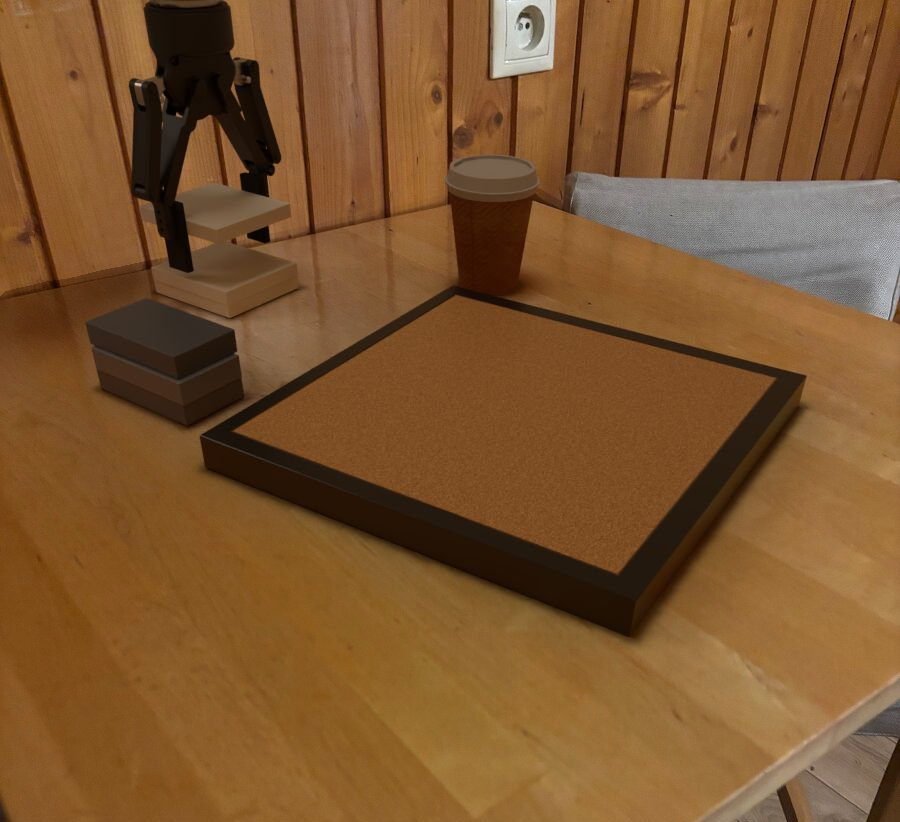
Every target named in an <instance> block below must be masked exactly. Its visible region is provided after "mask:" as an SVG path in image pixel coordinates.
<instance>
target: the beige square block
mask: <svg viewBox="0 0 900 822" xmlns="http://www.w3.org/2000/svg"><path fill="white" fill-rule="evenodd" d="M191 256H192V262H193V268H194V271H193V272H190V273H186V272H183V271H180V270H177V269H174V268H171V267H170V266H169V261H168V260H166V261H164V262H163V261H162V262H161V263H158V264H155V265H153V266H151V267H150V270H151V274H152V279H153V282H154V287H155V292H156V293H157V294H161V295H163V296H166V297H168V298H172V299H175V300H178V301H180V302H183V303H186V304H189V305H190V306H191V305H192V306H194V307H197V308H199V309H202V310H204V311H208V312H211V313H214V314H217V315H220V316H223V317H224V318H225V317H226V318H228V319H231V318H233V317H236V316H239V315H241V314H242V313H245V312H247V311H250V310H252V309H255V308H256V307H259V306H261V305H263V304H266V303H269V302H270V301H273V300H274V299H277V298H279V297H281V296H283V295H286V294H288V293H291V292H293V291H295V290H297V289H299V288H300V286H299V277H298V276H299V275H298V266H297V262H295V261H292V260H288V259H285V258H283V257H282V258H281V257H279V256H275V255H273V254H269V253H265V252H262V251H259V250H256V249H252V248H249V247H245V246H242V245H240V244H236V243H233V242H229V241H226V242H223V243H220V244H216V243H211V244H209V245H207V246H203V247H201V248H199V249H196V250H192V251H191Z"/></svg>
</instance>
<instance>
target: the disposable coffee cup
mask: <svg viewBox="0 0 900 822" xmlns="http://www.w3.org/2000/svg"><path fill="white" fill-rule="evenodd" d="M536 167H537V166H536V165H535V163H534V162H532V161H530V160H528V159H525V158H522V157H518V156H513V155H505V154H489V153H488V154H487V153H486V154H473V155H467V156H464V157H463V156H462V157H459V158H456V159H454V160H453V161H451V162H450V164H449V168H448V171H447V174H446V175H445V177H444V183H445V185H446V187H447V191H448V192H449V199H450V208H451V210H450V211H451V218H452V226H453V228H452V230H453V238H454V244H455V245H454V248H455V256H456V265H457V274H458V275H457V276H458V285H459V286H458V287H462V288H465V289H469V290H473V291H477V292H481V293H485V294H489V295H493V296H500V295H501V296H502V295H506V294H509V293H512V292H514V291H515V290H516V289H517V288H518V286H519V279H520V273H521V268H522V261H523V257H524V251H525V246H526V242H527V241H526V240H527V234H528V229H529V224H530V218H531V213H532V209H533V208H532V207H533V202H534V196H535V194H536V192H537V191H538V190H537V189H538V187H539V185H540V181H541V179H540V178H539V177H538V175H537V168H536Z"/></svg>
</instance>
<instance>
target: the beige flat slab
mask: <svg viewBox="0 0 900 822" xmlns="http://www.w3.org/2000/svg"><path fill="white" fill-rule="evenodd" d="M175 201H178V202H181V203H183V206H184V212H185V218H186V225H187V232H188V236H190V237H191V236H192V237H193V238H197V239H200V240H204V241H207V242H209V243H210V242H211V243H212V244H215V243H216V244H220V243H223V242H229V241H232V240H234V239H236V238H239V237H241V236H244V235H247V233H250V232H253V231H255V230H258V229H261V228H263V227H266V226H269V227H270V226H271V225H275V224H276V223H280V222H282V221H285V220H288V219H290V218H291V217H292V213H291V212H292V211H291V203H290V202H286V201H283V200H279V199H277V198H272V197H270V196H269V197H265V196H261V195H258V194H254V193H250V192H247V191H243V190H241V189H239V188H236V187H231V186H229V185H228V186H227V185H224V184H221V183H216V182H211V183H207V184H204V185H202V186H198V187H195V188H192V189H189V190H186V191H182V192H180V193H177V194H176V198H175ZM138 209H139V214H140V218H141V221H143V222H147V223H149V224H152V225H156V226H157V224H156V218H155V213H154V207H153V204H152V203H151V202H147V203H144V204H141V205H139V206H138Z"/></svg>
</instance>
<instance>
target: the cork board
mask: <svg viewBox="0 0 900 822" xmlns="http://www.w3.org/2000/svg"><path fill="white" fill-rule="evenodd" d="M807 377H808V375H806V374H803V373H798V372H795V371H791V370H788V369H783V368H779V367H776V366H771V365H768V364H763V363H760V362H755V361H752V360H748V359H743V358H740V357H736V356H731V355H728V354H725V353H720V352H716V351H713V350H708V349H705V348H702V347H701V348H700V347H697V346H692V345H689V344H685V343H680V342H677V341H673V340H670V339H665V338H661V337H657V336H654V335H650V334H645V333H642V332H638V331H634V330H630V329H626V328H622V327H618V326H615V325H611V324H606V323H602V322H599V321H595V320H591V319H586V318H582V317H579V316H574V315H571V314H567V313H564V312H559V311H556V310H551V309H547V308H543V307H540V306H535V305H532V304H528V303H524V302H521V301H517V300H512V299H508V298H504V297H500V296H498V295H489V294H485V293H481V292H477V291H473V290H469V289H465V288H462V287H460V286H457V285H450V286H449V287H447V288H446V289H444V290H442V291H441V292H439V293H437V294H435V295H434V296H432V297H430V298H429V299H427V300H425V301H423V302H422V303H420V304H419V305H417V306H415V307H413V308H412V309H410V310H408V311H406V312H405V313H403V314H402V315H400V316H399V317H397V318H395V319H393V320H392V321H390V322H388V323H386V324H385V325H383V326H381V327H379V328H378V329H376V330H375V331H373V332H372V333H369V334H368V335H366V336H365V337H363V338H361V339H359V340H358V341H356V342H355V343H353V344H351V345H349V346H348V347H345V349H343V350H341V351H340V352H338V353H336V354H334V355H333V356H331V357H330V358H327V359H326V360H324V361H322V362H320V363H319V364H317V365H315V366H314V367H312V368H311V369H309V370H307V371H306V372H304V373H302V374H301V375H298V377H296V378H293V379H292V380H291V381H289V382H287V383H285V384H284V385H282V386H280V387H279V388H276V390H273V391H272V392H270V393H269V394H267V395H265V396H263V397H262V398H260V399H258V400H256V402H254V403H251V404H250V405H249V406H247V407H245V408H243V409H241V410H240V411H238V412H236V413H235V414H233V415H232V416H230V417H228V418H227V419H225V420H223V421H222V422H220V423H218V424H216V425H215V426H213V427H211V428H210V429H208V430H206V431H204V432H202V433H201V434H200V435H199V440H200V448H201V452H202V459H203V464H204V468H206V469H207V470H211V471H214V472H216V473H219V474H221V475H224V476H226V477H228V478H231V479H233V480H235V481H238V482H240V483H244V484H246V485H248V486H251V487H253V488H256V489H258V490H261V491H264V492H266V493H268V494H272V495H274V496H275V497H278V498H281V499H283V500H287V501H288V502H291V503H293V504H296V505H298V506H301V507H304V508H306V509H309V510H311V511H313V512H315V513H319V514H321V515H324V516H326V517H329V518H332V519H333V520H336V521H338V522H341V523H344V524H347V525H349V526H352V527H355V528H357V529H359V530H361V531H363V532H367V533H369V534H371V535H373V536H377V537H379V538H382V539H384V540H387V541H388V542H392V543H394V544H397V545H398V546H401V547H404V548H406V549H409V550H412V551H414V552H417V553H419V554H422V555H424V556H427V557H429V558H432V559H434V560H437V561H439V562H442V563H444V564H447V565H449V566H451V567H453V568H454V567H455V568H457V569H459V570H462V571H463V572H466V573H469V574H472V575H474V576H477V577H479V578H482V579H484V580H487V581H489V582H492V583H494V584H497V585H499V586H502V587H504V588H507V589H509V590H512V591H515V592H517V593H519V594H522V595H525V596H526V597H529V598H532V599H534V600H536V601H539V602H541V603H545V604H546V605H549V606H552V607H554V608H557V609H560V610H562V611H565V612H567V613H570V614H572V615H573V616H577V617H580V618H581V619H584V620H587V621H589V622H592V623H595V624H598V625H600V626H602V627H605V628H608V629H610V630H612V631H615V632H617V633H619V634H622V635H625V636H627V637H631V635H632V634H633V633H634V631H635V630H636V628H638V626H639V624H640V623H641V621H643V619H644V617H645V616H646V615H647V614H648V612H649V611H650V609H651V608H652V606H653V605H654V604H655V602H656V601H657V600H658V598H659V597H660V596H661V594H662V593H663V592H664V590H665V589H666V587H668V585H669V583H670V582H671V580H672V579H673V578H674V577H675V575H676V574H677V573H678V571H679V570H680V568H681V567H682V565H684V563H685V562H686V560H687V559H688V557H689V556H690V555H691V553H692V552H693V550H694V549H695V548H696V546H697V545H698V544H699V542H700V541H701V540H702V538H704V535H705V534H706V533H707V531H708V530H709V528H711V526H712V525H713V523H714V522H715V520H716V519H717V518H718V516H719V515H720V514H721V512H722V511H723V509H724V508H725V507H726V505H727V504H728V503H729V501H730V500H731V499H732V497H733V496H734V494H735V493H736V492H737V490H738V489H739V487H740V486H741V485H742V484H743V482H744V481H745V480H746V478H747V477H748V476H749V474H750V472H751V471H752V470H753V469H754V467H755V466H756V464H757V463H758V462H759V461H760V459H761V458H762V456H763V455H764V453H765V452H766V451H767V450H768V449H769V447H770V445H771V444H772V442H774V440H775V438H776V437H777V436H778V434H779V433H780V431H781V430H782V429H783V428H784V427H785V425H786V423H787V422H788V421H789V419H790V418H791V417H792V416H793V414H794V413H795V411H796V410H797V408H798V407H799V406H800V403H801V399H802V395H803V392H804V388H805V385H806V380H807Z"/></svg>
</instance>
